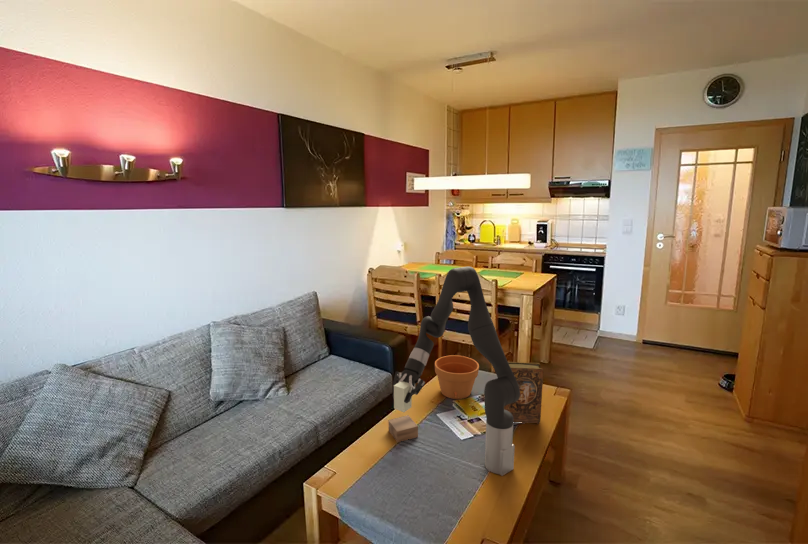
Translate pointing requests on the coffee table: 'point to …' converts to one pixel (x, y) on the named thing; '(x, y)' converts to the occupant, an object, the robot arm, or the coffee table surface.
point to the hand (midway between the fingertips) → (400, 400)
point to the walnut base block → (403, 428)
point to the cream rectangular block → (401, 396)
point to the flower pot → (456, 375)
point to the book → (527, 392)
